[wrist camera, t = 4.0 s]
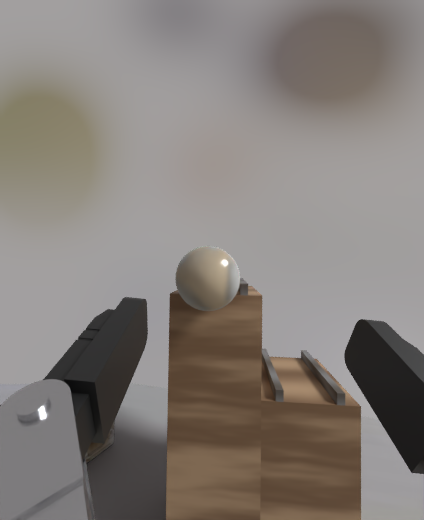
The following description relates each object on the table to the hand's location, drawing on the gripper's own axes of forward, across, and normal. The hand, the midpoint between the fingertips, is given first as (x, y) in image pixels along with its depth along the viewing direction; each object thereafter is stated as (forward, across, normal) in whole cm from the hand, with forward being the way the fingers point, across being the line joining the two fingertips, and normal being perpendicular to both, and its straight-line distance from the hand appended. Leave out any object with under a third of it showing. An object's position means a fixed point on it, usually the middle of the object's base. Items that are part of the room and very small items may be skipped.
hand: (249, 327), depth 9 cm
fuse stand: (+7, +7, -38) cm, 40 cm away
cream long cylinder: (+15, -1, -8) cm, 17 cm away
